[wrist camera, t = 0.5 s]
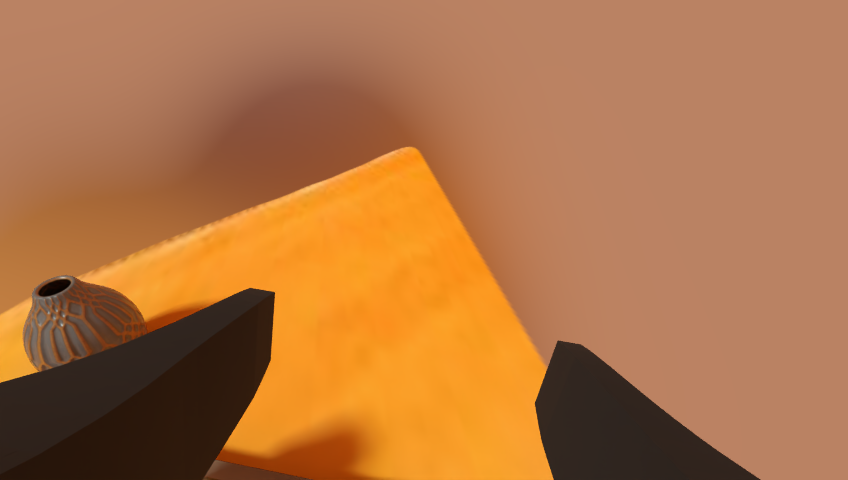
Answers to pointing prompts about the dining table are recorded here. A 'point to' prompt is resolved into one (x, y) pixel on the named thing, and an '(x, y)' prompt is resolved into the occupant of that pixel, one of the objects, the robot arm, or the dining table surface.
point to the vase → (77, 321)
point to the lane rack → (243, 473)
